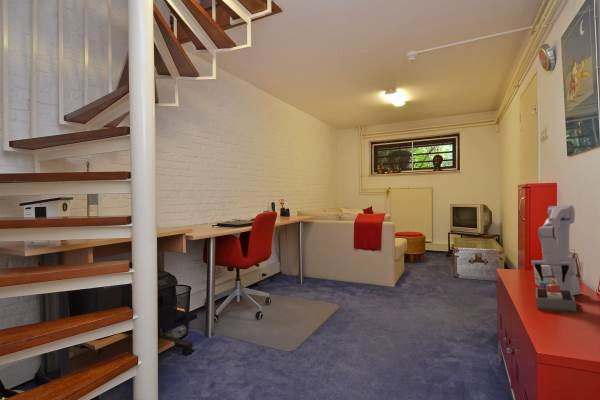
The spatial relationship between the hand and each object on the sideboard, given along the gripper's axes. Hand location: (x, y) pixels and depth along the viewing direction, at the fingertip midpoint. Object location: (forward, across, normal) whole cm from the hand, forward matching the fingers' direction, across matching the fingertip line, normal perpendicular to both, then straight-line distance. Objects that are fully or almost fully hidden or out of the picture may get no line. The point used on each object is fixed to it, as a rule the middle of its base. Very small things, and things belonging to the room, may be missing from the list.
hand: (552, 281), depth 146 cm
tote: (+10, 0, -4) cm, 11 cm away
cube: (+9, 0, -8) cm, 12 cm away
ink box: (+10, -3, +30) cm, 31 cm away
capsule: (+9, 0, 0) cm, 9 cm away
